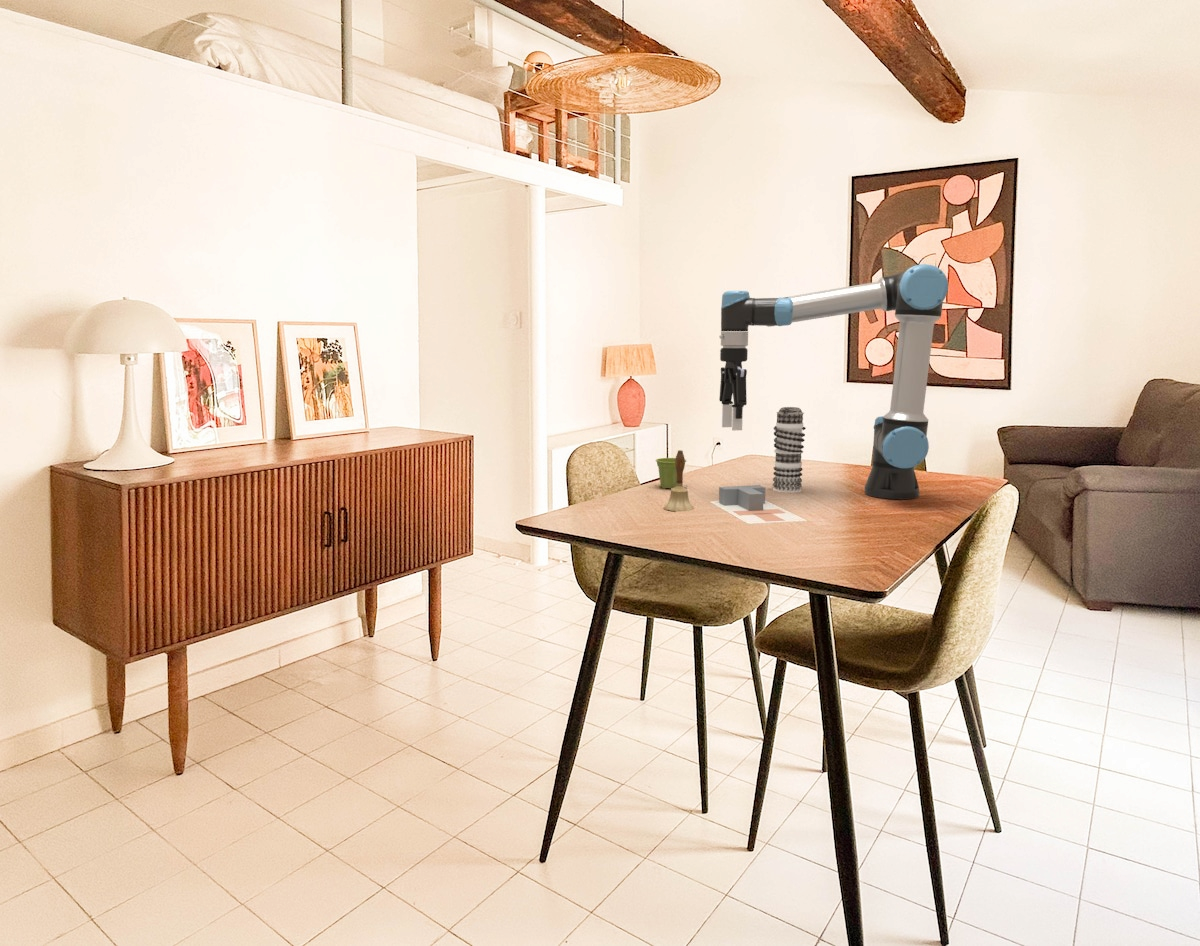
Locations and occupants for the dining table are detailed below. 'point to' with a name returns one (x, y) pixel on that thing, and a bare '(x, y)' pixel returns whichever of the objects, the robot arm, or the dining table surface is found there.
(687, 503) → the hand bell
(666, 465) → the plant pot
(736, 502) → the T block
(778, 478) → the decorative candle
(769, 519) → the board
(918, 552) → the dining table surface
